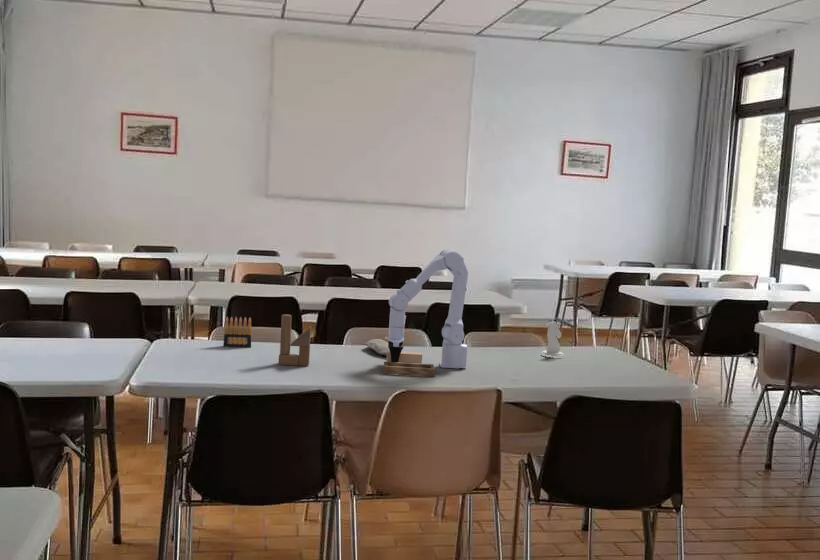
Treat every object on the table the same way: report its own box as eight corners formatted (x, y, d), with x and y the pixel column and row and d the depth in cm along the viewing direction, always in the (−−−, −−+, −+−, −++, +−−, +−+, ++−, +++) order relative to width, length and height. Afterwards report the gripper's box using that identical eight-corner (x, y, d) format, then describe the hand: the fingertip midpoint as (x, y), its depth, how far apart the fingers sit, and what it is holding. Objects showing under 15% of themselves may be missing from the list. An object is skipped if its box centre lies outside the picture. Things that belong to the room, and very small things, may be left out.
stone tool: (389, 335, 338) (403, 346, 314) (388, 347, 339) (402, 359, 315) (362, 335, 335) (374, 346, 311) (361, 347, 336) (373, 359, 312)
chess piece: (569, 357, 340) (572, 322, 338) (553, 359, 334) (556, 323, 332) (551, 353, 348) (554, 318, 346) (535, 355, 341) (538, 319, 340)
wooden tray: (432, 371, 295) (433, 364, 295) (434, 377, 287) (434, 369, 287) (383, 369, 294) (384, 361, 294) (383, 374, 286) (384, 366, 286)
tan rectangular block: (420, 366, 303) (421, 352, 303) (421, 369, 299) (422, 354, 299) (386, 365, 303) (386, 350, 302) (386, 367, 299) (387, 352, 298)
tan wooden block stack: (308, 366, 291) (310, 317, 289) (278, 365, 290) (280, 315, 288) (309, 364, 294) (311, 315, 292) (279, 362, 294) (281, 313, 292)
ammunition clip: (223, 346, 316) (224, 316, 315) (223, 345, 318) (224, 315, 317) (251, 347, 318) (252, 317, 317) (251, 346, 320) (252, 316, 319)
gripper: (385, 322, 306) (383, 357, 308) (386, 328, 292) (383, 365, 293) (404, 323, 307) (402, 358, 308) (405, 330, 292) (403, 366, 294)
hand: (394, 362), depth 301 cm, fingers open, 6 cm apart
